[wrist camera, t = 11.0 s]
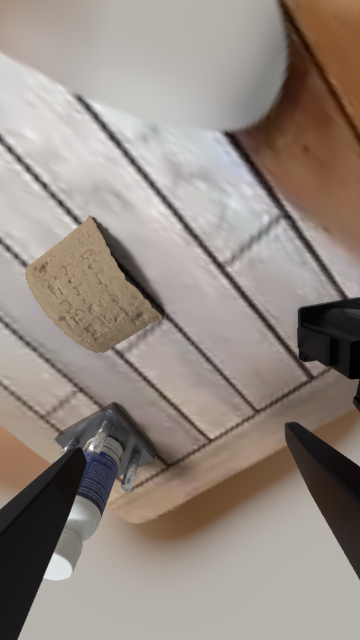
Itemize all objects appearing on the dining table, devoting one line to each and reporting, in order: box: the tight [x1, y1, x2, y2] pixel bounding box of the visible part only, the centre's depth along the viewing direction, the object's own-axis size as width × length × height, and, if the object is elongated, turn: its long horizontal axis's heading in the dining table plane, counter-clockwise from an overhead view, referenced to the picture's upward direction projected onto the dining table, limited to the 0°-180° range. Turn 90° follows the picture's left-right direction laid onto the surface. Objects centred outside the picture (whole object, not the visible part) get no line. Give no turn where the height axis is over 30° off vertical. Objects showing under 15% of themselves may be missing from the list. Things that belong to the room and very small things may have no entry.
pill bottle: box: [43, 437, 123, 580], centre depth 19 cm, size 5×5×10 cm
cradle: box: [53, 402, 156, 491], centre depth 22 cm, size 10×10×5 cm
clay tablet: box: [25, 215, 162, 353], centre depth 18 cm, size 14×10×3 cm
